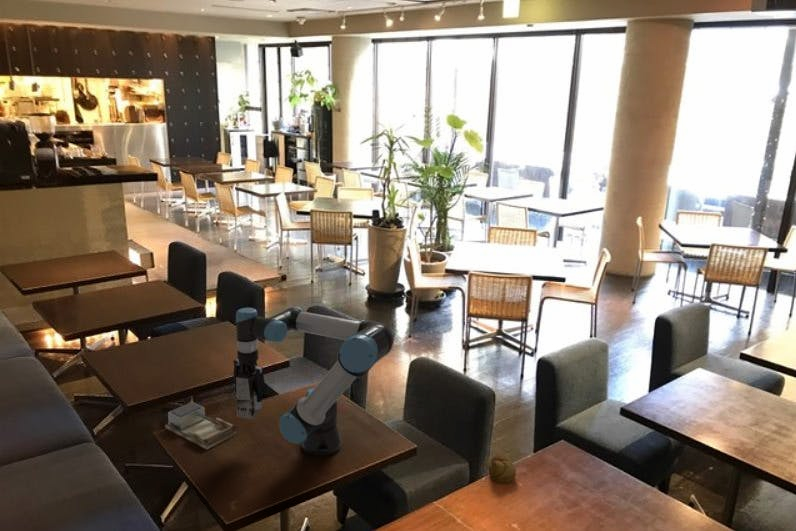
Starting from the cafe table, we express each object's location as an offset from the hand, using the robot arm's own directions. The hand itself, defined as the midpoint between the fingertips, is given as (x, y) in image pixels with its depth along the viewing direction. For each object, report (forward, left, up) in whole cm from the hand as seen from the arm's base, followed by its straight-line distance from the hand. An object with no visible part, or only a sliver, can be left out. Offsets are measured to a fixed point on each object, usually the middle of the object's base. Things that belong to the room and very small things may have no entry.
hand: (249, 405), depth 230 cm
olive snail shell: (-85, -42, -17) cm, 97 cm away
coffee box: (0, 0, -3) cm, 3 cm away
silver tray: (+24, +5, -17) cm, 30 cm away
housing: (+33, +5, -16) cm, 36 cm away
